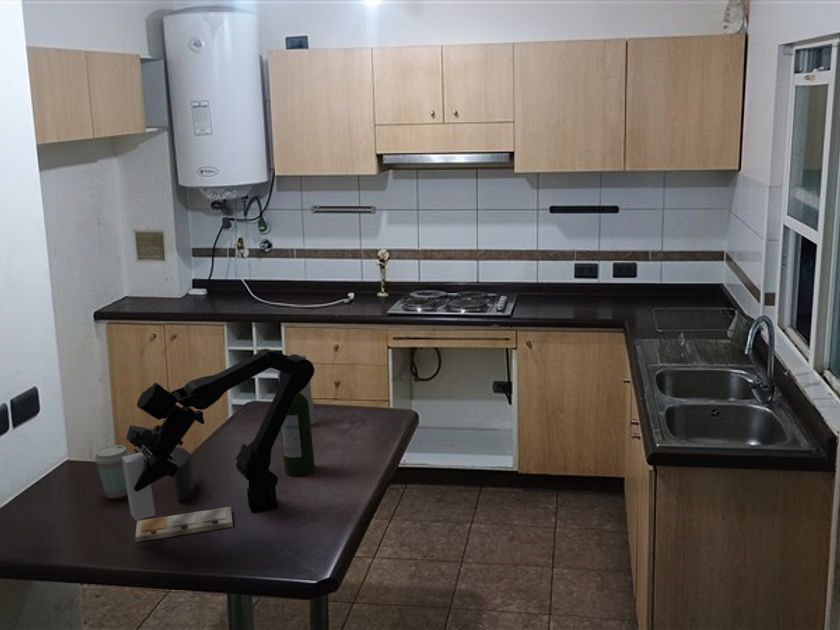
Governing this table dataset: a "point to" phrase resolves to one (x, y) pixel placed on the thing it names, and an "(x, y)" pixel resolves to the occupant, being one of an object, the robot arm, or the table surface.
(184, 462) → the leaning round-cornered charcoal block
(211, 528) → the switch board
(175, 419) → the robot arm
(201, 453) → the table surface
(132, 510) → the block
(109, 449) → the coffee cup
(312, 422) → the tall pale column
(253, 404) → the table surface
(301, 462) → the wine bottle
